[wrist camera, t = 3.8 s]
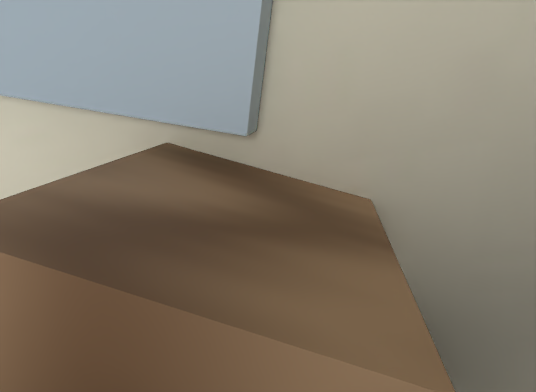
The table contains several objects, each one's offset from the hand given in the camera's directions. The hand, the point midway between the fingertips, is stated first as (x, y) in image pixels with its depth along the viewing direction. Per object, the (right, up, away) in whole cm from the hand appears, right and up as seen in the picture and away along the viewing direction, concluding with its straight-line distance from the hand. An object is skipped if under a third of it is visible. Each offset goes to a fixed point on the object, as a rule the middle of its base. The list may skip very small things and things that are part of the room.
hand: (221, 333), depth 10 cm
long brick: (0, 0, +1) cm, 1 cm away
